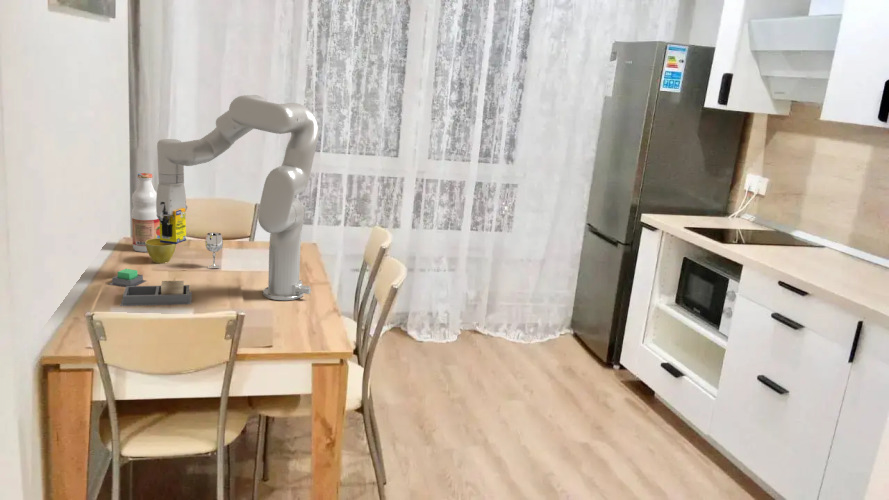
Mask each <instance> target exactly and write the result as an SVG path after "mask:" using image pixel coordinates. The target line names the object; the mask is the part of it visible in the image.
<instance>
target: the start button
mask: <svg viewBox="0 0 889 500" xmlns="http://www.w3.org/2000/svg"><path fill="white" fill-rule="evenodd" d="M137 274H138V270H137V269H130V268H124V269H121V270H119V271H117V276H118V278H124V279H132V278H134V277H137V276H138V275H137Z"/></svg>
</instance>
